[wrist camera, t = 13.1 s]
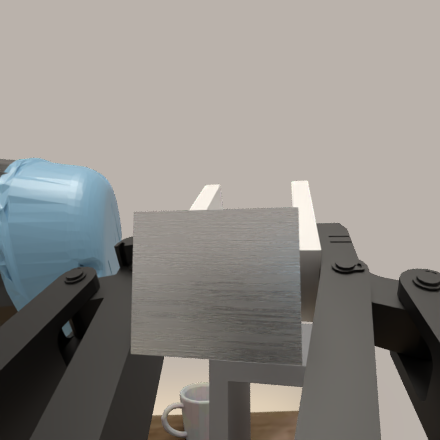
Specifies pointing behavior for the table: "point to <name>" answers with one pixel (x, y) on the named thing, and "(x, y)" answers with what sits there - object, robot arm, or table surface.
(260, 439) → the table surface
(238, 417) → the shelf
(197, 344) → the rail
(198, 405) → the mug
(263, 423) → the table surface
